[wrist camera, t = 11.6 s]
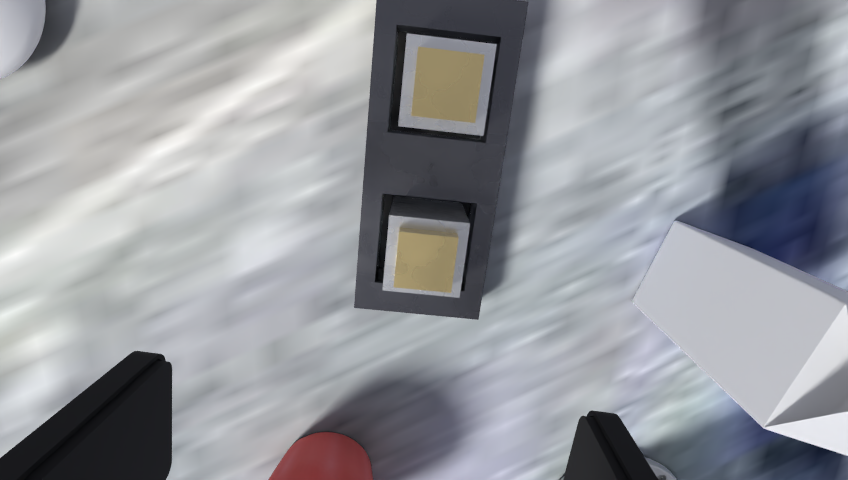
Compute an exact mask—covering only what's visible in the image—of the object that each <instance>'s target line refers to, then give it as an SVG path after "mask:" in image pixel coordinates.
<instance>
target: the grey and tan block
mask: <svg viewBox="0 0 848 480" xmlns="http://www.w3.org/2000/svg"><path fill="white" fill-rule="evenodd" d="M496 46H497V44H491V43H482V42H474V41H466V40H458V39H450V38H441V37H433V36H425V35H417V34H409V33H407V37H406V48H405V59H404V69H403V80H402V91H401V102H400V112H399V123H398V126H401V127H410V128H419V129H428V130H436V131H445V132H454V133H463V134H472V135H480V136H483V135H484V128H485V122H486V115H487V108H488V101H489V94H490V87H491V80H492V73H493V66H494V59H495V52H496Z"/></svg>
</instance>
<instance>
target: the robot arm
mask: <svg viewBox="0 0 848 480" xmlns="http://www.w3.org/2000/svg"><path fill="white" fill-rule="evenodd" d="M171 463H172V365H171V363H170V362H166V361H165V357H164V356H163V355H162V354H156V353H149V352H141V351H134V352H132V353H131V354H129V355H128V356H127V357H126V358H124V359H123V360H122V361H121V362H119V363H118V364H117V365H116V366H115V367H113V368H112V369H111V370H110V371H108V372H107V373H106V374H105V375H103V376H102V377H101V378H100V379H98V380H97V381H96V382H95V383H93V384H92V385H91V386H90V387H88V388H87V389H86V390H85V391H83V392H82V393H81V394H80V395H78V396H77V397H76V398H75V399H73V400H72V401H71V402H70V403H68V404H67V405H66V406H65V407H63V408H62V409H61V410H60V411H58V412H57V413H56V414H55V415H53V416H52V417H51V418H50V419H48V420H47V421H46V422H45V423H43V424H42V425H41V426H40V427H38V428H37V429H36V430H35V431H33V432H32V433H31V434H30V435H29V436H27V437H26V438H25V439H24V440H22V441H21V442H20V443H19V444H17V445H16V446H15V447H14V448H12V449H11V450H10V451H9V452H7V453H6V454H5V455H4V456H2V457H1V458H0V480H166V478H167V476H168V474H169V471H170V468H171ZM561 480H677V479H676V477H675V476H674V475H673V474H672V473H671V472H670V470H668V469H667V468H666V467H664V466H663V465H662V464H660V463H658V462H656V461H654V460H652V459H650V458H646V457H644V456H643V454H642V453H641V451H640V449H639V448H638V446H637V445H636V443H635V441H634V440H633V438H632V437H631V435H630V433H629V432H628V430H627V429H626V427H625V426H624V424H623V422H622V421H621V419H620V418H619V416H618V415H617V414H614V413H606V412H598V411H590V412H589V413H588V414H587V417H586V416H582V417H581V418H580V419H579V422H578V426H577V430H576V433H575V437H574V441H573V445H572V449H571V452H570V456H569V460H568V464H567V468H566V471H565V475H564V477H563V478H562V479H561Z"/></svg>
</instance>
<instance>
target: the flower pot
mask: <svg viewBox="0 0 848 480" xmlns="http://www.w3.org/2000/svg"><path fill="white" fill-rule="evenodd" d="M269 480H373V475H372V468H371V463H370V459H369V457H368V455H367V453H366V451H365V450H364V449H363V448H362V446H361V445H359V444H358V443H357V442H356V441H354V440H353V439H351V438H349V437H347V436H345V435H342V434H339V433H334V432H319V433H314V434H311V435H308V436H306V437H303V438H301V439H299V440H298V441H296V442H295V443H294V444H293V445H292V446H291V447H290V448H289V449H288V451H287V452H286V454H285V455H284V457H283V458H282V460H281V461H280V463H279V464H278V466H277V467H276V469H275V470H274V472H273V473H272V475H271V477H270V478H269Z"/></svg>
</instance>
